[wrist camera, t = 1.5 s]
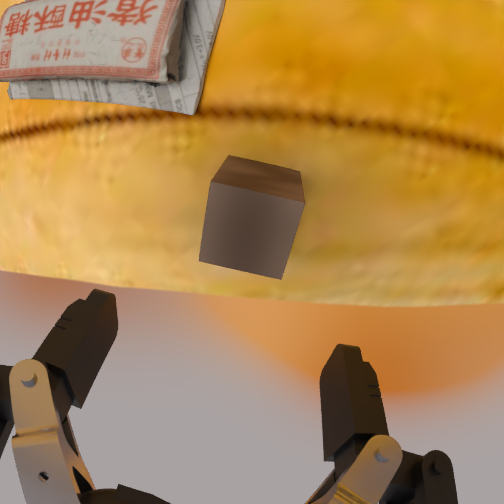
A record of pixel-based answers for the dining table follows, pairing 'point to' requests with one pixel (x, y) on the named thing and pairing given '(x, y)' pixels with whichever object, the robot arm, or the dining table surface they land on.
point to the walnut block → (252, 217)
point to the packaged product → (109, 51)
